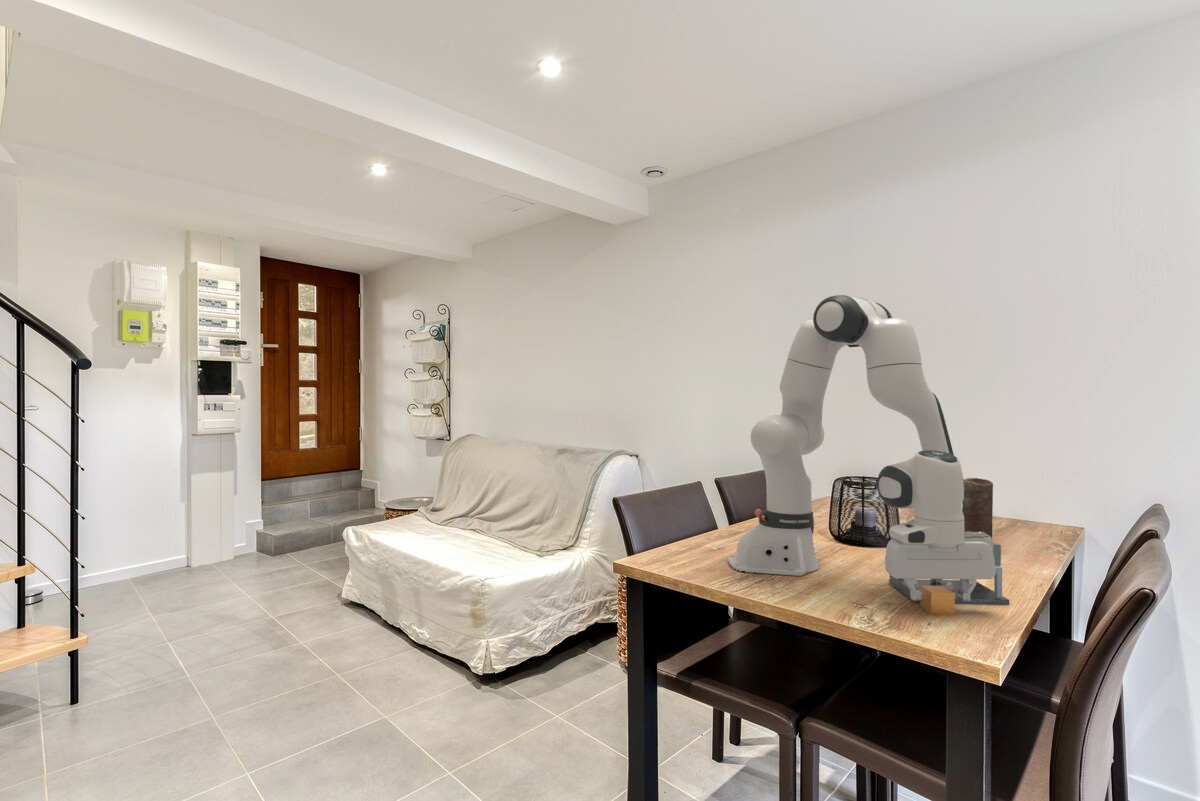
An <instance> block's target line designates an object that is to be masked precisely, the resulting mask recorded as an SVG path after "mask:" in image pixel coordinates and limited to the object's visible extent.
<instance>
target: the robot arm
mask: <svg viewBox="0 0 1200 801" xmlns="http://www.w3.org/2000/svg"><path fill="white" fill-rule="evenodd" d="M846 346H847V347H849V348H858V347H859V348H861V349H862V350H863V353H864V355H865V356H864V358H865V366H866V368H865V370H866V380H867V386H868V389H869V391H870V394H871V396H872V398H874V399H875V401H877V402H878V403H879V404H881V406H884V407H885V408H887V409H890V410H893V411H894V412H896V413H900V414H901V415H903V416H906V417H907V418H908V419H909V420H911V422H912V423H913V424H914V426H915V427H916V428H915V429H916V430H917V434H918V438H919V444H920V446H921V451H920V450H919V451H918V452H916V453H915V455H914V456H913V457H911V458H909V459H907V460H905V461H902V462H899V463H893V464H891V465H887V466H884V467H883V468H882V469H881V470H880V471H879V474H878V475H877V480H876V487H877V488H876V489H877V492H878V496H879V497H880V499H881V500H882V502H884V504H885V505H887V506H888V507H890V508H895V509H912V510H913V511H914V513H913V519H911V520H909V521H905V522H903V523H902V522H901V523H899V524H896V525H893V526H891V527H890V528H889V530H888V532H889V536H890V537H891V538H892V539H890V540H889V541H888V542H887V545H886V548H885V549H886V550H885V560H884V562H885V563H884V565H885V566H884V568H885V572H886V573H887V574H888V575H889V576H890V575H891V576H892V577H894V578H896V579H904V581H905V583H906V585H907V586H908V588H909V589H910V597H911V599H912V600H914V601H916V600H922V598H921V596H922V592H920V591H919V590H916V589H915V587H914V585H913V584H916V579H917V580H930V579H942V580H960V579H963V581H964V582H966V583H965V585H964V587H963V589H962V590H958V594H959V595H958V598H959V599H960V600H961V601H970V593H971V592H972V590H973V589H974V587H975V586H976V582H977V580H992V579H994V576H995V574H996V569H995V561H994V556H993V552H992V551H993V542H994V540H993V537H992V538H991V537H990V536H989V535H988V534H986V533H985V532H964V515H963V512H962V502H963V499H964V489H965V483H964V480H965V478H964V476H963V475H964V474H963V469H962V465H961V462H960V460H959V458H958V457H957V456H955V453H954V450H953V445H952V442H951V438H950V434H949V431H948V428H947V427H948V426H947V422H946V419H945V416H944V412H943V409H942V405H941V402H940V401H939V399H938V397H937V395H936V394H935V393H934V392H932V389H930V387H929V385H928V383H927V381H926V378H925V376H924V374H925V373H924V371H923V365H922V358H921V357H922V356H921V351H920V346H919V343H918V339H917V336H916V333H915V330H914V327H913V325H912V324H911V323H910V322H909V321H908V320H905V319H902V318H897V317H893V316H892V314H891V312H890V311H889V310H888V309H887V307H885V306H883V305H882V304H880V303H879V302H875V301H872V300H869V299H866V298H864V297H856V296H855V297H854V296H849V295H846V294H845V295H844V294H838V295H832V296H828V297H826V298H825V299H823V300H821V301H820V302H819V303H818V305H817V306H816V308H815V309H814V311H813V316H812V319H808V320H806V321H804V322H802V324H800V326H799V329H798V330H797V332H796V334H795V336H794V339H793V340H792V343H791V346H790V349H789V351H788V355H787V359H786V363H785V366H784V369H783V372H782V375H781V380H780V383H779V391H780V393H781V395H782V396H781V398H782V403H781V404H782V407H781V413H780V414H775V415H774V414H773V415H769V416H767V417H765V418H763V419H761V420H759V421H757V422H756V423H755V425H754V426H753V427H752V429H751V432H750V442H751V445H752V448H753V449H754V450H755V452H756V453H757V454H758V456H759V458H760V461H761V464H762V468H763V471H764V475H765V483H766V485H765V486H766V487H765V488H766V508H765V509H764V510H761V509H760V508H757V509H755V510H754V515H755V516H756V517H757V518H758V524H757V525H756V526H754V527H752V528H751V529H750V530H748V531H747V532H746V533H744V534H743V535H742V536H741V537H740V538H739V540H738V542H737V547H736V553H731V554H730V555H728V559H727V562H729V563H728V564H730V565H731V566H732V567H733V568H732V567H731V566H730V565H729V566H730V567H731V568H732V569H734V568H735V569H736V570H735V569H734V570H735V571H738V570H739V572H741V571H745V572H744V573H754V572H755V573H757V574H768V575H769V574H771V575H783V576H796V577H797V576H804V575H805V574H807V573H811V572H815V571H817V570H818V569H819V568H820V566H819V563H818V560H817V556H816V551H815V546H814V537H813V536H814V529H815V517H814V516H815V515H814V512H813V511H812V508H813V507H812V481H811V479H810V477H809V476H808V474H807V472H806V469H805V466H804V461H803V456H806V455H809V454H811V453H812V452H814V451H815V450H817V449H818V448H820V446H821V445H822V444H823V441H824V439H825V430H824V429H825V428H824V426H823V424H822V422H823V407H824V406H823V405H824V399H825V395H826V391H827V388H828V384H829V380H830V378H831V374H832V371H833V366H834V363H835V360H836V356H837V354H838V353H839V351H840V350H841V349H842V348H843V347H846ZM985 536H987V537H985ZM912 600H911V601H912Z"/></svg>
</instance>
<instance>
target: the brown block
mask: <svg viewBox="0 0 1200 801" xmlns="http://www.w3.org/2000/svg"><path fill="white" fill-rule="evenodd" d="M921 592H922V596H921V598H922V600H921V603H920V608H921V609H923V610H924V611H925V612H927V613H928V614H929V615H931V616H955V615H956V611H955V610H956V606H955V605H956V604H955V593H954V592H952V591H951V590H949V589H947V588H946V587H944V586H925V585H921Z"/></svg>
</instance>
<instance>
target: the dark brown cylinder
mask: <svg viewBox="0 0 1200 801" xmlns="http://www.w3.org/2000/svg"><path fill="white" fill-rule="evenodd" d="M964 483H965V489H964V499H963V502H962V512H963V515H964V532H985V533H986V534H988V535H989V536H990V537H991V538H992V539H993V510H994V509H993V508H994V507H993V506H994V505H993V503H994V502H993V501H994V500H993V499H994V497H993V496H994V482H992V481H991V480H988V479H984V478H977V477H973V478H972V477H967V478H964ZM985 537H987V536H985Z"/></svg>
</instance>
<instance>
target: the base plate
mask: <svg viewBox="0 0 1200 801" xmlns="http://www.w3.org/2000/svg"><path fill="white" fill-rule="evenodd" d="M889 583H890V584H889ZM888 584H889V585H891V586H892V587H893V586H894V587H895V588H894V587H893V588H894V589H895V590H897V591H898V590H899V591H898V592H899V593H901V594H902V593H903V594H902V595H904V596H905V597H906V596H907V597H906V598H908V599H909V600H910V601H911V602H913V603H914V604H921V600H916V601H914V600H912V599H911V597H910V589H909V588H908V586H907V585H906V583H905V581H904V579H896V578H894V577H892V576H891V575H889V579H888ZM913 585H914V587H915V589H916V590H919V591H920V592H921V585H925V586H944V587H946V588H947V589H949V590H951V591H952V592H954V593H955V605H959V604H961V605H962V604H963V605H1000V606H1001V605H1005V606H1006V605H1008V606H1009V605H1010V599H1009V598H1007V597H1005V596H1004V595H1002V597H996V596H994V590H992V589H991V588H989V587H987V586H985V585H983V584H981V583H980V582H978V581H976V586H975V587H974V589H973V590H972V592H971V593H970V601H961V600H960V599H959V598H958V595H959V594H958V590H960V579H942V581H937V579H916V584H913Z"/></svg>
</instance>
